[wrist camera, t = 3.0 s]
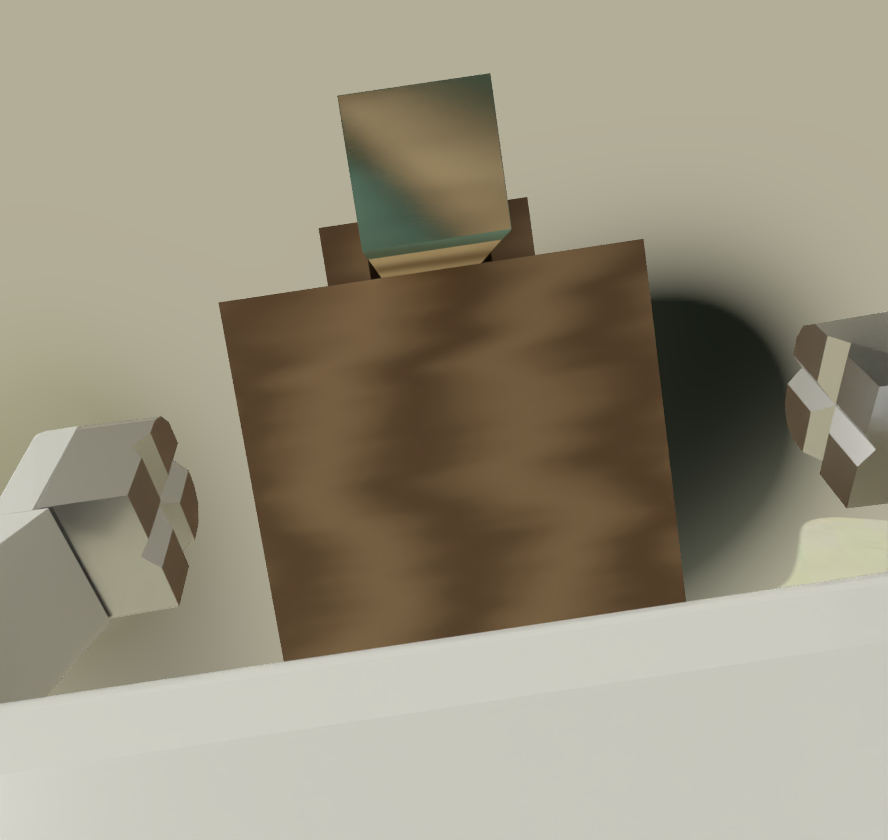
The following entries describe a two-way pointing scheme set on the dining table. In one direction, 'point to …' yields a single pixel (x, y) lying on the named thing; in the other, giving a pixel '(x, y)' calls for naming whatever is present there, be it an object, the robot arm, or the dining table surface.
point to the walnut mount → (456, 444)
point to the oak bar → (426, 174)
